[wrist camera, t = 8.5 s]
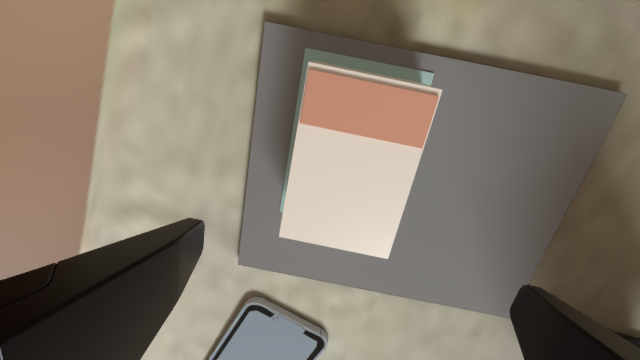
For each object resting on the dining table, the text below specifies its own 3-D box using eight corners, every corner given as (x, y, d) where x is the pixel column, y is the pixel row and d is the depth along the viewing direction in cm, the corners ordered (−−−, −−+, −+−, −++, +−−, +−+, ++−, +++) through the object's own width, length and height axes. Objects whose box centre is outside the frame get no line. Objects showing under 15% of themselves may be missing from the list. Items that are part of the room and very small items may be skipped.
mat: (620, 92, 18) (629, 93, 17) (507, 313, 24) (511, 319, 23) (266, 22, 18) (264, 21, 17) (240, 260, 24) (237, 265, 23)
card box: (380, 223, 21) (388, 260, 17) (290, 204, 21) (278, 238, 17) (421, 82, 18) (443, 90, 14) (315, 60, 18) (307, 61, 14)
